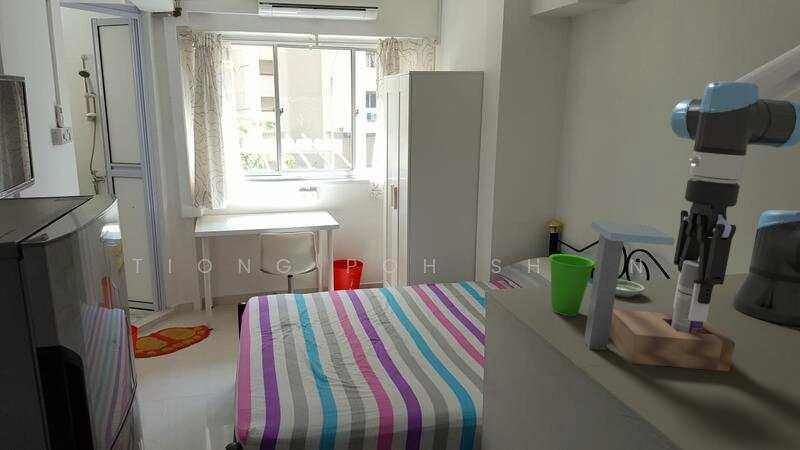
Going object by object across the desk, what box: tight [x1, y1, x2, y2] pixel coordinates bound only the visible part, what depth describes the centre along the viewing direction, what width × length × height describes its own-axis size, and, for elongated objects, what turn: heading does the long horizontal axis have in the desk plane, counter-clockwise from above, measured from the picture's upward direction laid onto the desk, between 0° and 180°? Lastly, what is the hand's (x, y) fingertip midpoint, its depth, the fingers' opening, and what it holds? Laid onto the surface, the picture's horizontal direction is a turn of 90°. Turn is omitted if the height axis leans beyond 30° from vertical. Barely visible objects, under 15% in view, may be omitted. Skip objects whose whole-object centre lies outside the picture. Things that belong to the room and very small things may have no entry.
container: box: [671, 260, 703, 333], centre depth 95 cm, size 5×5×15 cm
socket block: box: [608, 308, 736, 372], centre depth 96 cm, size 16×12×5 cm
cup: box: [548, 253, 596, 316], centre depth 112 cm, size 9×9×11 cm
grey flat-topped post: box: [583, 220, 675, 351], centre depth 94 cm, size 10×10×21 cm
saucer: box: [615, 278, 645, 298], centre depth 128 cm, size 10×10×2 cm
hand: (689, 314), depth 95 cm, fingers open, 5 cm apart
